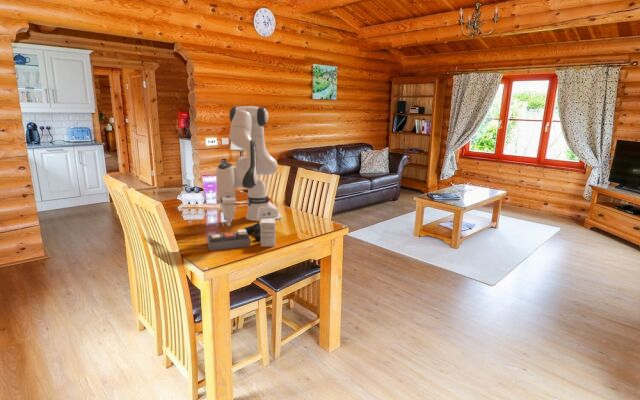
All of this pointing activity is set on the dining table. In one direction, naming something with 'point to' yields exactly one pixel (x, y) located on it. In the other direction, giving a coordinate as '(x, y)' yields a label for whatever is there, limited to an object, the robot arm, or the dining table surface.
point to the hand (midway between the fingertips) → (227, 222)
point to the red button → (229, 235)
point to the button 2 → (242, 231)
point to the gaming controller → (254, 231)
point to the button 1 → (215, 236)
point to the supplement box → (267, 232)
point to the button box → (228, 241)
